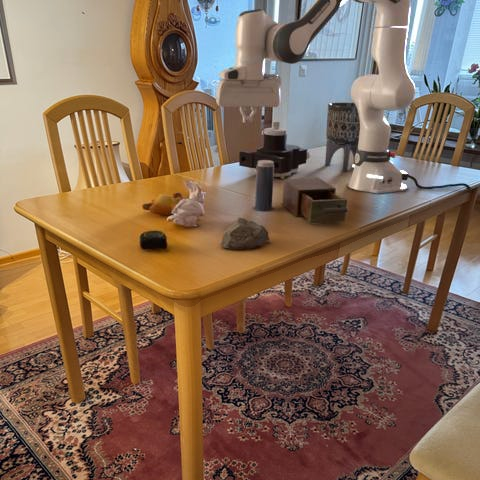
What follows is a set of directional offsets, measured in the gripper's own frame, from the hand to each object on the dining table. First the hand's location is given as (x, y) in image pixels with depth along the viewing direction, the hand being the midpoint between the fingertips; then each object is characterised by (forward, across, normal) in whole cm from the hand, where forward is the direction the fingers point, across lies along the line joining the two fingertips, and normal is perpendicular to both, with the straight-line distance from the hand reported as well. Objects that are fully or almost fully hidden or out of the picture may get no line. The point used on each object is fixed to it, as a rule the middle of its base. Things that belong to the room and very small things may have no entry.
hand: (247, 122), depth 145 cm
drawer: (+24, -18, +26) cm, 40 cm away
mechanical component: (+25, -26, -40) cm, 54 cm away
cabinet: (+25, -18, +13) cm, 33 cm away
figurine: (+26, +23, +21) cm, 41 cm away
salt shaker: (+25, -4, +9) cm, 27 cm away
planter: (+25, -60, -47) cm, 80 cm away
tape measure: (+26, +34, +39) cm, 58 cm away
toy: (+26, +28, +7) cm, 39 cm away
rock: (+26, +10, +40) cm, 49 cm away
